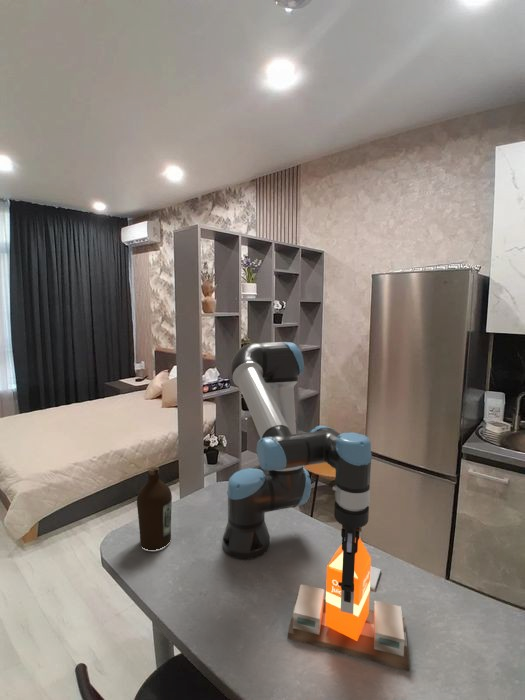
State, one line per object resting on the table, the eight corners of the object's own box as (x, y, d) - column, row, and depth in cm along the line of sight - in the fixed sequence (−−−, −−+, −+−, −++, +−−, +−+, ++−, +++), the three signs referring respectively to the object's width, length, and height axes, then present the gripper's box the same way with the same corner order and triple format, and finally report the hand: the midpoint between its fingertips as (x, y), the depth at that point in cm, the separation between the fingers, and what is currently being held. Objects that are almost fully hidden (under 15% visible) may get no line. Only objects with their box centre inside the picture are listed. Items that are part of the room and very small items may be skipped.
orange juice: (369, 613, 87) (372, 535, 84) (357, 641, 79) (361, 557, 77) (338, 599, 91) (340, 524, 88) (324, 625, 83) (326, 544, 81)
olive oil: (133, 553, 112) (130, 476, 109) (145, 532, 122) (143, 461, 119) (167, 554, 111) (164, 477, 108) (176, 533, 122) (175, 462, 119)
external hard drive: (374, 593, 97) (330, 576, 103) (380, 573, 104) (338, 559, 110) (375, 587, 97) (330, 571, 103) (381, 568, 104) (338, 554, 110)
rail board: (287, 638, 83) (288, 616, 83) (297, 598, 95) (297, 579, 94) (408, 670, 76) (410, 647, 75) (403, 623, 87) (404, 602, 87)
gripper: (338, 478, 93) (336, 558, 96) (329, 529, 72) (326, 630, 75) (369, 482, 91) (365, 563, 94) (368, 535, 70) (364, 639, 72)
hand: (348, 593), depth 84 cm, fingers closed on orange juice, 10 cm apart
